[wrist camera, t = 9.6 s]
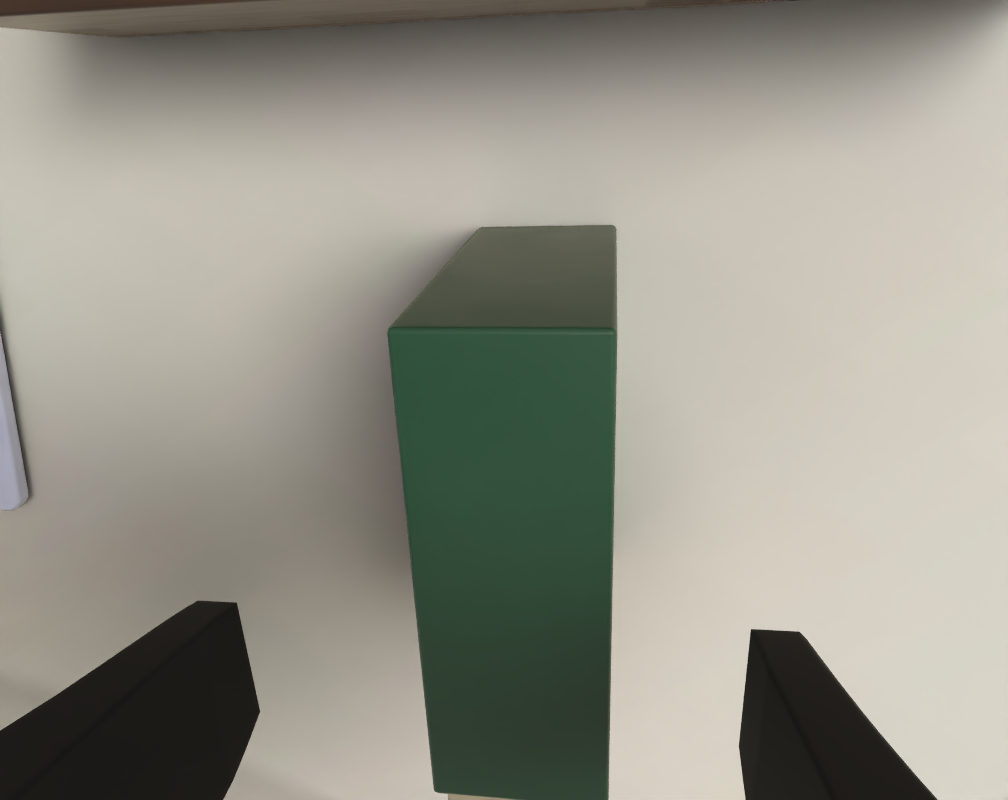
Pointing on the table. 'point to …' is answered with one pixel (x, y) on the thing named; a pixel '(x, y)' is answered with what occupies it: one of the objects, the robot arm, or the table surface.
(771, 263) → the table surface
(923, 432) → the table surface
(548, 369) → the green book
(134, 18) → the book rack
